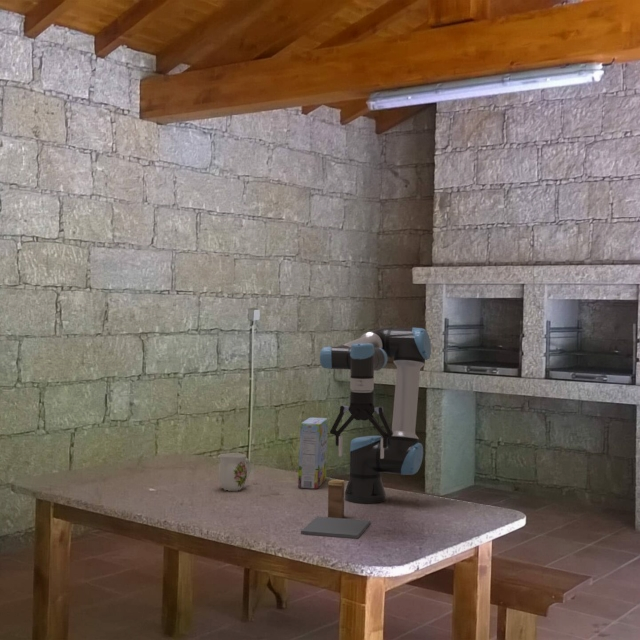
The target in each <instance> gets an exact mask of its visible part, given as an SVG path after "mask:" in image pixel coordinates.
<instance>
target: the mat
mask: <svg viewBox="0 0 640 640" xmlns="http://www.w3.org/2000/svg"><path fill="white" fill-rule="evenodd" d="M370 525H371V520H369V519H357V518H343V517H342V518H331V517H328V516H316V517H315V518H313V519H312V520H311V521H310V522H309V523H308V524H307V525H306V526H304V528H302V529H301V530H300V534H301V535H310V536H317V537H318V536H321V537H331V538H332V537H334V538H345V539H356V540H357V539H359V538H360V537H361V536H362V535H363V533H364V532H365V531H366V529H367V528H369V526H370Z"/></svg>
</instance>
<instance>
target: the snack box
mask: <svg viewBox="0 0 640 640" xmlns="http://www.w3.org/2000/svg"><path fill="white" fill-rule="evenodd" d="M328 426H329V419H328V418H326V417H309V418H307V419H305V420H303V421H302V422H300V429H299V430H300V431H299V453H298V454H299V457H298V459H299V460H298V478H297V479H298V480H297V487H298V488H299V489H310V490H311V489H312V490H318V488H319V487H320V486H321V485H322V484H323V483H324V482H325V480H326V479H327V457H328V456H327V454H328V453H327V452H328V451H327V450H328V430H329V429H328Z"/></svg>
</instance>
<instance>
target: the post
mask: <svg viewBox="0 0 640 640" xmlns="http://www.w3.org/2000/svg"><path fill="white" fill-rule="evenodd" d="M327 484H328V486H327V489H328V492H327V493H328V494H327V517H331V518H343V517H344V516H345V480H344V479H331V480H329V481H328V483H327Z"/></svg>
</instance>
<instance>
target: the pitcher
mask: <svg viewBox="0 0 640 640" xmlns="http://www.w3.org/2000/svg"><path fill="white" fill-rule="evenodd" d="M217 458H218V459H220V462H219V466H218V479H219V483H220V486H221V487H222V489H223V490H224V491H226V490H228V492H237V491H238V490H239V491H241V490H242V489H243V487H244V486H245V483H246V481H247V479H248V477H249V476H250V474H251V469H252V465H251V462H250V459H249V458H247V455H246V454H244V453H240V452H239V453H237V452H234V453H233V452H232V453H231V452H229V453H221V454H219V455H217ZM239 491H238V492H239Z"/></svg>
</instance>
